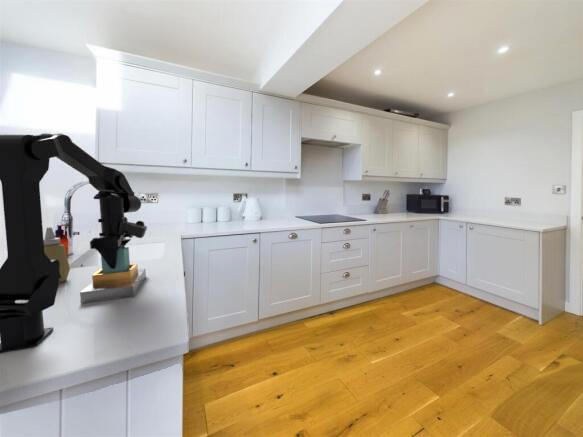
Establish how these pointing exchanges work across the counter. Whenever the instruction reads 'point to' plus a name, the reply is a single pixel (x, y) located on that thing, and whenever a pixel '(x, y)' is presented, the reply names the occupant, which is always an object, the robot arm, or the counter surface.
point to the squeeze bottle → (56, 253)
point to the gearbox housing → (113, 285)
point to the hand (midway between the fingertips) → (116, 265)
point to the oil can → (118, 262)
